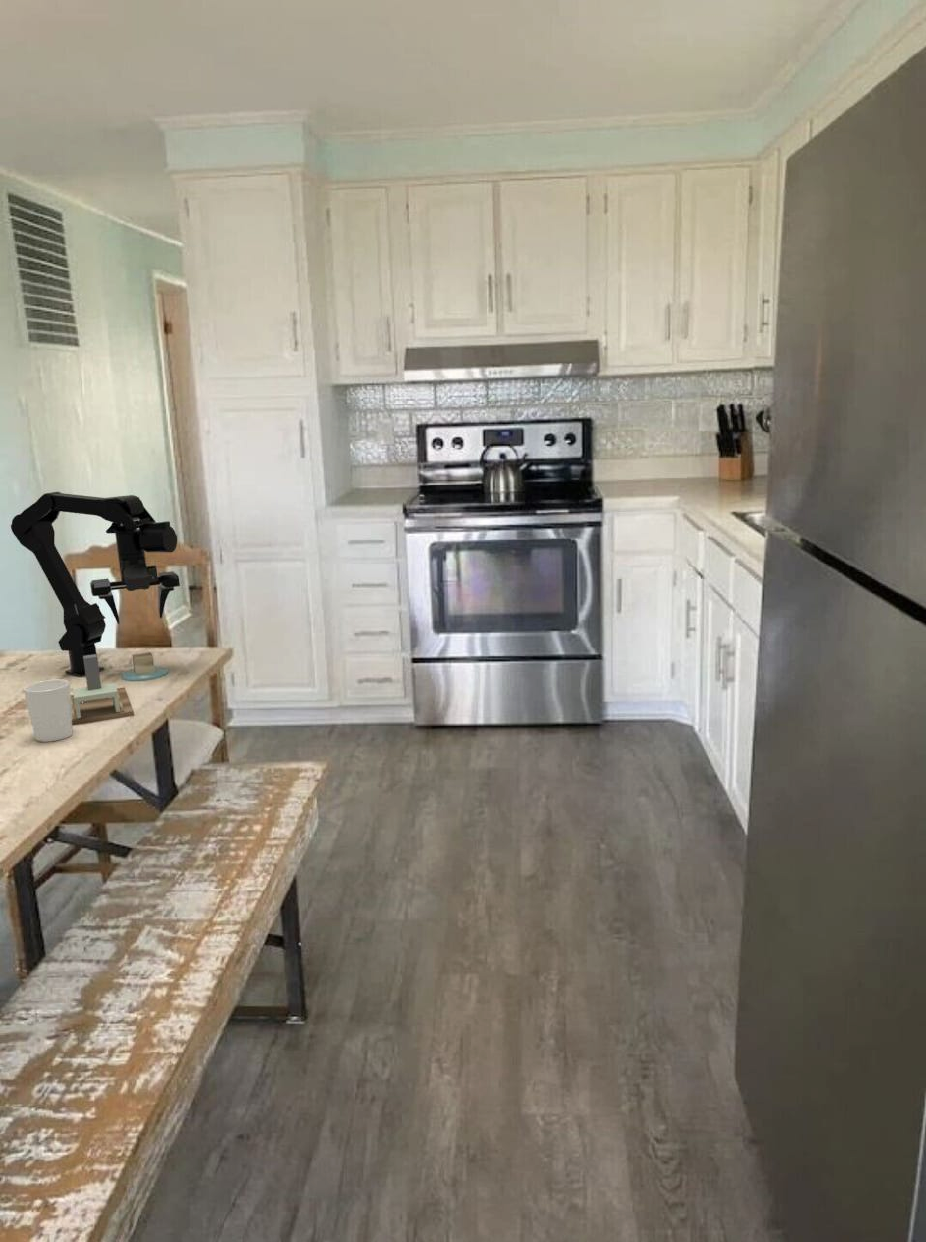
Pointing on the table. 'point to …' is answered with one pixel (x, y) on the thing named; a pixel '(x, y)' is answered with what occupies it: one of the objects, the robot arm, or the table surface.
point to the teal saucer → (158, 673)
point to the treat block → (143, 663)
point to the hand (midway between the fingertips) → (139, 620)
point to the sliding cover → (94, 686)
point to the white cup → (50, 709)
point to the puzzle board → (102, 709)
